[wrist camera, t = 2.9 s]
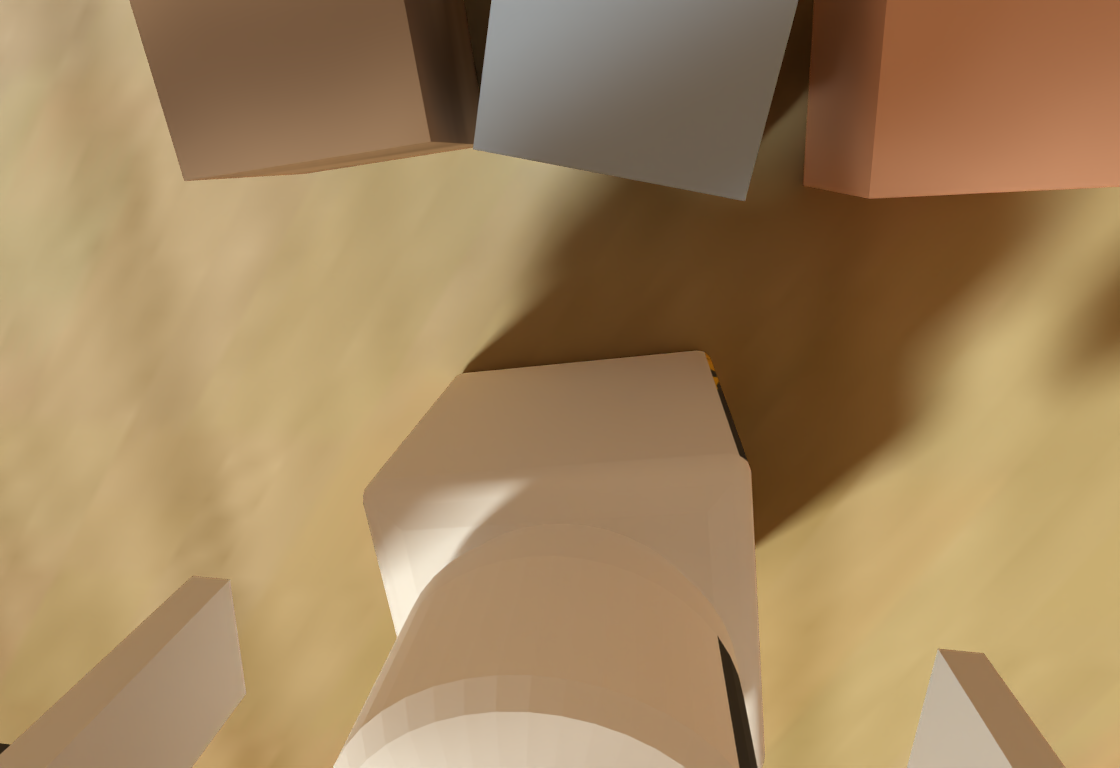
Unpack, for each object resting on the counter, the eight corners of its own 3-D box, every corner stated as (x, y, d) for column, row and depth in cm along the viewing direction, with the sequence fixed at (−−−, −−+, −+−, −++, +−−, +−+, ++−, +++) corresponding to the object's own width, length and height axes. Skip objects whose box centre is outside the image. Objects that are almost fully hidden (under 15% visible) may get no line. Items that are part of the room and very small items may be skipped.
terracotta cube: (816, -50, 15) (900, -145, 10) (1060, -73, 14) (1271, -185, 9) (802, 185, 16) (868, 199, 12) (1021, 173, 16) (1184, 183, 11)
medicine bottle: (724, 572, 20) (837, 1112, 9) (494, 583, 21) (330, 1079, 10) (709, 345, 18) (834, 676, 7) (453, 370, 19) (180, 693, 8)
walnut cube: (252, -42, 16) (92, -123, 11) (450, -84, 15) (368, -188, 11) (305, 173, 18) (184, 180, 13) (488, 145, 17) (430, 141, 12)
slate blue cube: (552, -81, 15) (514, -185, 10) (771, -42, 15) (833, -132, 10) (518, 149, 17) (473, 148, 12) (713, 187, 17) (745, 201, 12)
